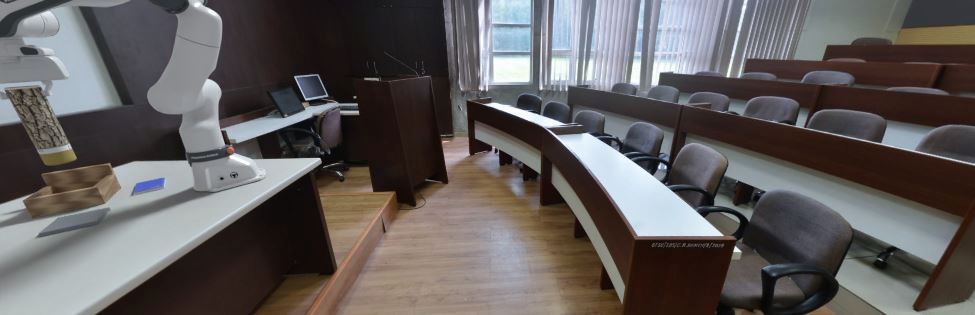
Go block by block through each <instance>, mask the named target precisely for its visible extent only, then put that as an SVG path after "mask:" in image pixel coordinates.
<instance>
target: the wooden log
mask: <svg viewBox="0 0 975 315" xmlns="http://www.w3.org/2000/svg"><path fill="white" fill-rule="evenodd" d="M43 90H44V89H43V87H42V86H41V85H39V84H35V85H32V84H31V85H21V86H10V87H7V86H6V87H3V91H4V93H6V94H7V96H8V98H9V99H8V100H9V101H10V103H11V105H12V107H13V109H14V110H15V113H16V114H17V116H18V118H19V120H20V121H21V124H22V125H23V127H24V129H25V131H26V133H27V135H28V136H29V138H30V140H31V142H32V144H33V145H34V148H35V149H36V151H37V153H38V154H39V157H40V158H41V160H42V162H43V163H44V165H46V166H49V167H50V166H51V167H52V166H59V165H65V164H69V163H71V162H75V161H76V160H77V159H78V158H77V156H76V153H75V151H74V150H73V147H72V145H71V143H70V141H69V140H68V137H67V135H66V133H65V131H64V129H63V128H62V126H61V124H60V121H59V119H58V118H57V115H56V113H55V112H54V109H53V107H52V105H51V104H50V102H49V99H48V96H43V95H42V93H41V91H43Z"/></svg>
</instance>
